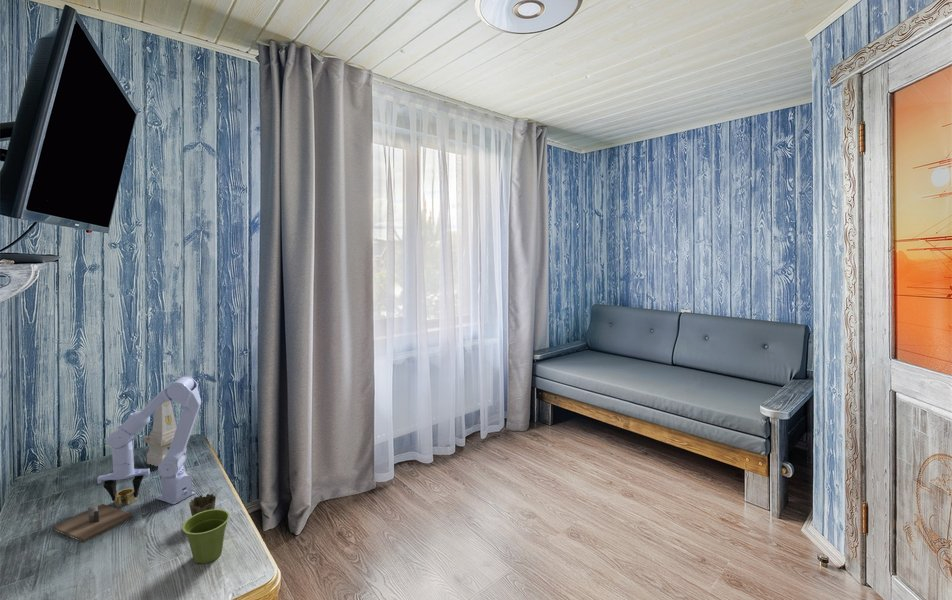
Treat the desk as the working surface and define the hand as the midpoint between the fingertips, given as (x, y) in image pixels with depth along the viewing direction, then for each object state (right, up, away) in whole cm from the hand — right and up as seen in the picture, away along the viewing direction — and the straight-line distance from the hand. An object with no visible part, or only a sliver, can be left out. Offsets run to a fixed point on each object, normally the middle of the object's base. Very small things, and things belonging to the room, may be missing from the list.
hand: (125, 497), depth 156 cm
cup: (+34, -4, -10) cm, 36 cm away
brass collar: (0, -1, 0) cm, 1 cm away
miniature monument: (-7, +2, +30) cm, 31 cm away
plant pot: (+45, -6, -26) cm, 53 cm away
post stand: (0, -3, -12) cm, 13 cm away
